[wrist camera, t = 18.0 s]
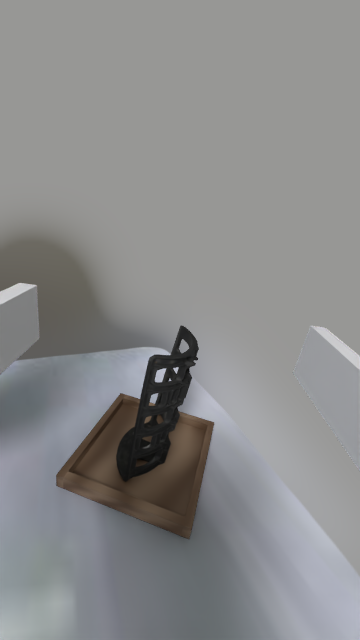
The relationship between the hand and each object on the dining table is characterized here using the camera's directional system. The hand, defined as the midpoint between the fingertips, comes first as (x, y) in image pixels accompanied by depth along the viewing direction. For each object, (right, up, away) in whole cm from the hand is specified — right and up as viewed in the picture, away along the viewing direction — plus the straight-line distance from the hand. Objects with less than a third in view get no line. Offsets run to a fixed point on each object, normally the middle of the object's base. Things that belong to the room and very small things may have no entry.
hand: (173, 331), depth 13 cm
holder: (-5, -20, +28) cm, 35 cm away
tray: (-5, -20, +28) cm, 35 cm away
